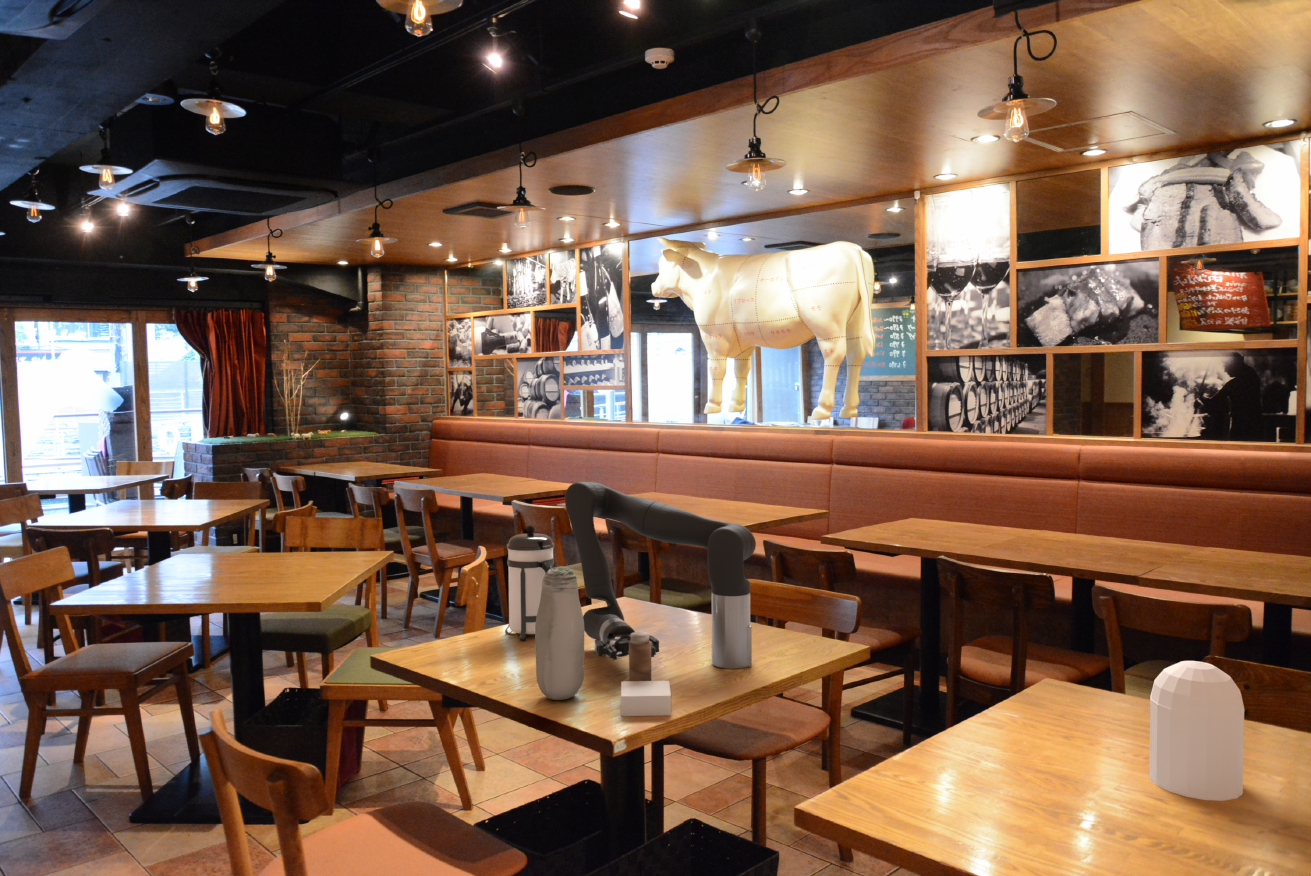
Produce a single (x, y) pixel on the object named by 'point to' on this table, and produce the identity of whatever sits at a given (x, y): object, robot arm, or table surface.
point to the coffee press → (527, 578)
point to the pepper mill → (640, 657)
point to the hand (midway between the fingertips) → (634, 654)
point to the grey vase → (559, 635)
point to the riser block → (645, 698)
